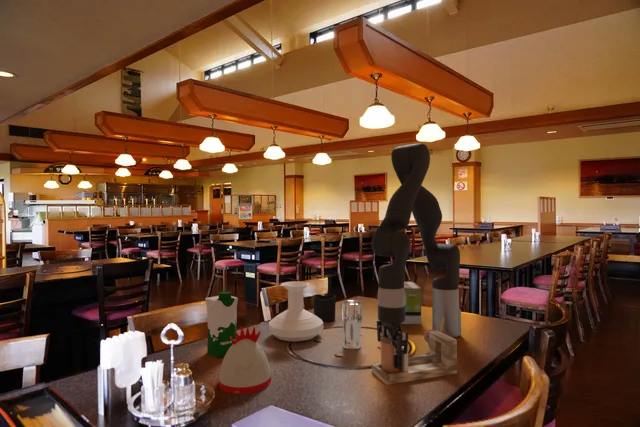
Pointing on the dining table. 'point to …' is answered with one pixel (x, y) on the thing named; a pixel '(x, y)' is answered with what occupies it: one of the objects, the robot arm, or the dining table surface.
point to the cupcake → (426, 336)
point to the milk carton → (221, 323)
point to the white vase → (295, 317)
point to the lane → (426, 362)
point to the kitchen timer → (245, 365)
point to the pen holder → (325, 307)
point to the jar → (387, 356)
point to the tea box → (412, 303)
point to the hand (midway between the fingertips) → (391, 363)
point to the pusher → (406, 359)
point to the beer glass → (351, 323)
